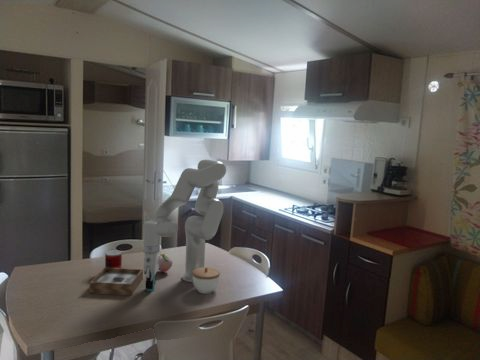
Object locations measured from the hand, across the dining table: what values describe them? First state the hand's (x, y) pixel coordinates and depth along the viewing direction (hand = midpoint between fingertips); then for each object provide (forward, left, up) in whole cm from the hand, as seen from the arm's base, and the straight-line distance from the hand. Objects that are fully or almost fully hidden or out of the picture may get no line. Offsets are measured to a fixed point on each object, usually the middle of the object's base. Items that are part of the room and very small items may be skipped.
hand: (150, 286), depth 178 cm
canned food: (+23, -17, -2) cm, 29 cm away
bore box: (+16, -2, -2) cm, 16 cm away
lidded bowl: (-25, -3, -2) cm, 25 cm away
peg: (0, 0, -2) cm, 2 cm away
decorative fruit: (-1, -22, -2) cm, 22 cm away
